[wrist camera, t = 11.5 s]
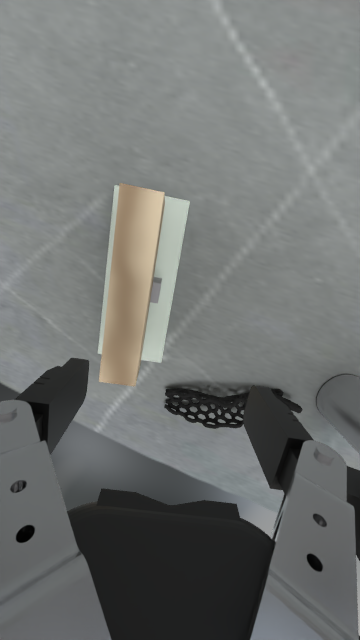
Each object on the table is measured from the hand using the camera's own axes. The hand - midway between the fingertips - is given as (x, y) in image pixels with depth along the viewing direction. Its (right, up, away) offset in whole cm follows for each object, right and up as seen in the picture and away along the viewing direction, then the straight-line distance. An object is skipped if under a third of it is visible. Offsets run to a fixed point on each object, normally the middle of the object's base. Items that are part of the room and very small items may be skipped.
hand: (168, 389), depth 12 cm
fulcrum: (-5, +9, +24) cm, 26 cm away
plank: (-5, +7, +17) cm, 19 cm away
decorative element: (+9, -10, +30) cm, 33 cm away
